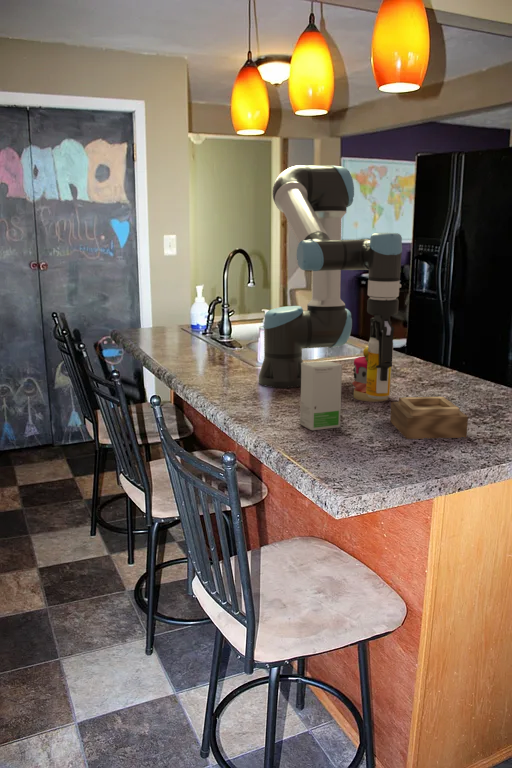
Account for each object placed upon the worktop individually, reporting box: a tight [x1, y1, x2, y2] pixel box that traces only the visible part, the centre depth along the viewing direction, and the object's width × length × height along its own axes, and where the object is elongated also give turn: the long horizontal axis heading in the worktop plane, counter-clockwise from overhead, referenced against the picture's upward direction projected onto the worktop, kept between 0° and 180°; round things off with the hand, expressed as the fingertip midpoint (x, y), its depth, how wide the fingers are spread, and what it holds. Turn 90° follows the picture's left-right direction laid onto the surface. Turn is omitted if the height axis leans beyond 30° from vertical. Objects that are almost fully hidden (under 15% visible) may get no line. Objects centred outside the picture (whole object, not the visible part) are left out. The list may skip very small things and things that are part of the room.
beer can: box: [366, 337, 394, 399], centre depth 165 cm, size 6×6×15 cm
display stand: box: [390, 396, 469, 440], centre depth 157 cm, size 14×14×6 cm
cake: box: [351, 346, 390, 403], centre depth 185 cm, size 10×11×15 cm
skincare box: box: [299, 360, 343, 431], centre depth 159 cm, size 8×7×16 cm
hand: (378, 388), depth 166 cm, fingers closed on beer can, 6 cm apart
